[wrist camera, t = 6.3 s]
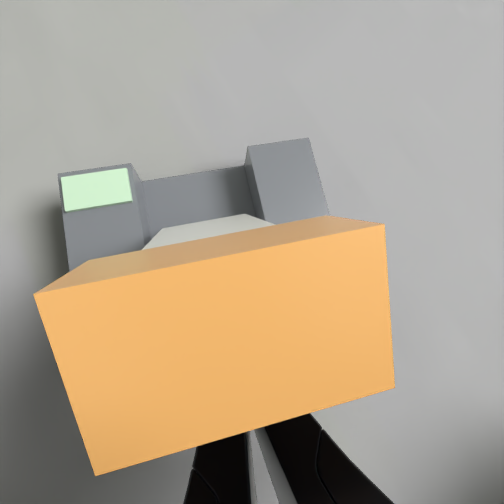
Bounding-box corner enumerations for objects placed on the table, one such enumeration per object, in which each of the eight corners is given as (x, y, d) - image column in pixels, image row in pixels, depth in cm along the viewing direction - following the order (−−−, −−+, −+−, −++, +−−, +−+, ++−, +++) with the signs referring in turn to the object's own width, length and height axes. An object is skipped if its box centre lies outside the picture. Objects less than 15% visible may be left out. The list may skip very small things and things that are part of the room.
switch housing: (332, 312, 17) (359, 313, 13) (109, 366, 15) (80, 381, 12) (293, 165, 18) (309, 135, 15) (86, 198, 16) (55, 171, 13)
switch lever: (260, 258, 15) (395, 388, 5) (164, 278, 14) (95, 476, 4) (251, 204, 14) (384, 223, 4) (151, 221, 14) (33, 293, 4)
